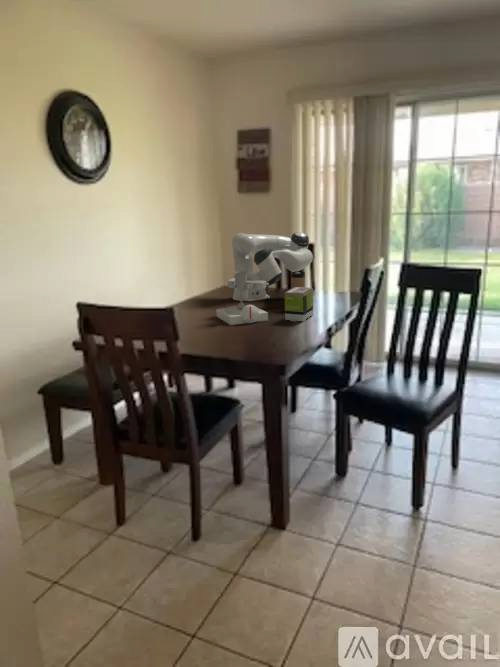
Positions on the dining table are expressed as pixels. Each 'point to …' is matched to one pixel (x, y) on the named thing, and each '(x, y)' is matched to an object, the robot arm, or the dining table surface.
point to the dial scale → (242, 314)
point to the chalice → (241, 285)
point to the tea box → (298, 304)
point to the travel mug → (297, 279)
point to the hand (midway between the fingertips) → (240, 286)
